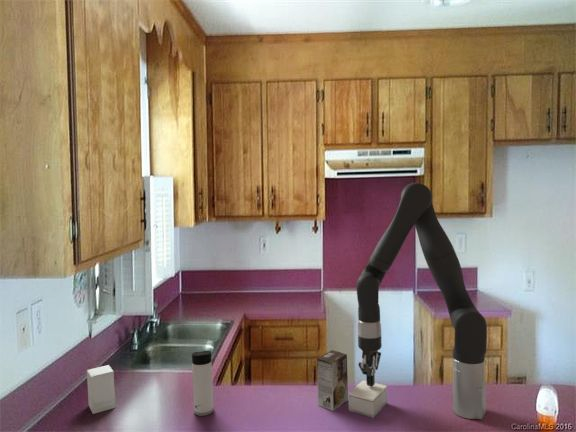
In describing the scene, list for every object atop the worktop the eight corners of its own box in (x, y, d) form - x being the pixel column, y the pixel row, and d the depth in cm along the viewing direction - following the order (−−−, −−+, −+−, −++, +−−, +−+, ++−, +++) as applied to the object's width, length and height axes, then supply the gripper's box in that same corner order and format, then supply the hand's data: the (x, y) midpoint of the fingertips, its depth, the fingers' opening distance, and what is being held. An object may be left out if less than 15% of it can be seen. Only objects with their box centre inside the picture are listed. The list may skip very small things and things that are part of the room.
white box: (387, 403, 146) (386, 388, 146) (373, 418, 137) (373, 402, 137) (363, 396, 151) (363, 382, 150) (348, 410, 142) (348, 395, 141)
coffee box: (332, 395, 153) (331, 349, 152) (348, 400, 149) (347, 353, 148) (317, 405, 146) (316, 357, 145) (333, 411, 142) (332, 362, 141)
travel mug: (195, 418, 140) (192, 356, 139) (193, 408, 146) (190, 349, 145) (214, 414, 142) (212, 353, 140) (212, 405, 148) (210, 346, 147)
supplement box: (116, 407, 148) (114, 371, 147) (92, 414, 144) (90, 376, 143) (111, 399, 154) (109, 364, 153) (88, 405, 150) (86, 369, 149)
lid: (386, 387, 146) (386, 385, 145) (373, 401, 136) (373, 399, 136) (363, 381, 150) (363, 380, 150) (348, 394, 141) (348, 392, 141)
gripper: (371, 341, 136) (373, 396, 137) (388, 329, 147) (389, 380, 148) (349, 337, 141) (351, 390, 142) (367, 326, 152) (368, 375, 153)
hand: (370, 385), depth 145 cm, fingers closed
